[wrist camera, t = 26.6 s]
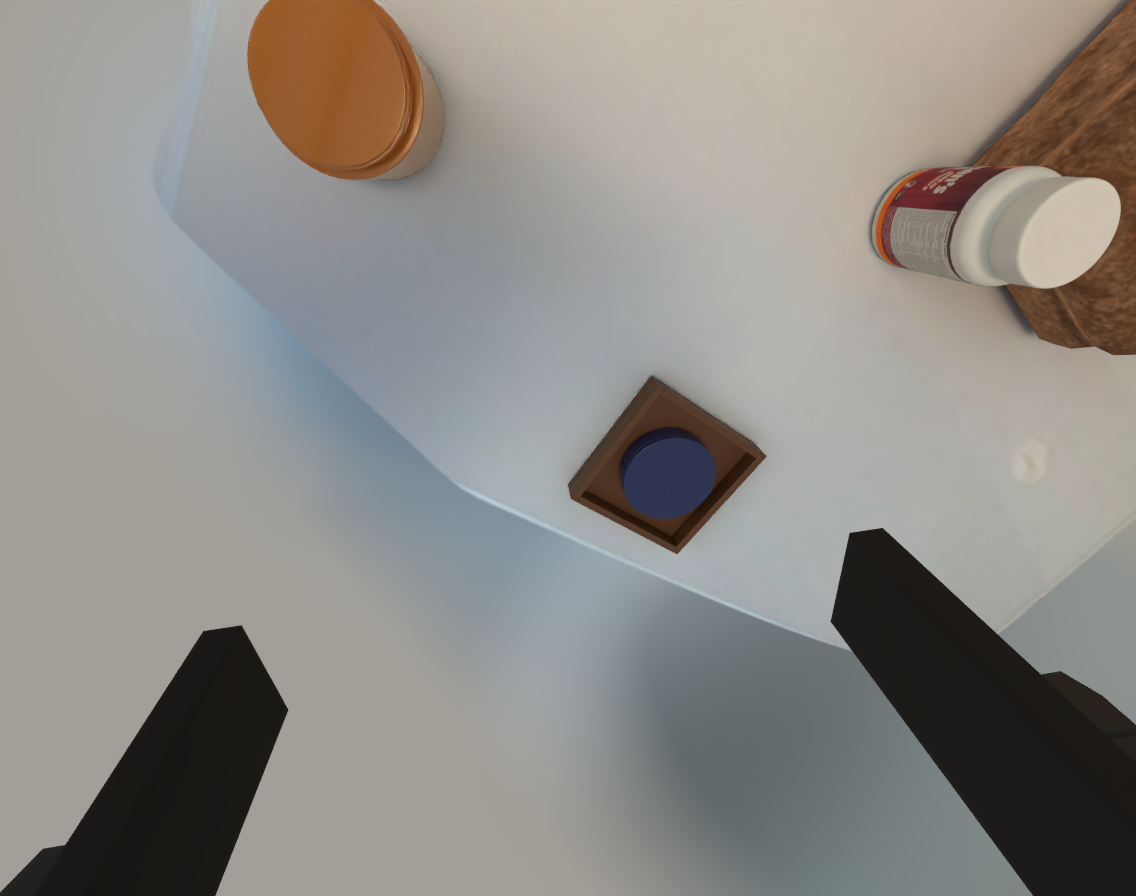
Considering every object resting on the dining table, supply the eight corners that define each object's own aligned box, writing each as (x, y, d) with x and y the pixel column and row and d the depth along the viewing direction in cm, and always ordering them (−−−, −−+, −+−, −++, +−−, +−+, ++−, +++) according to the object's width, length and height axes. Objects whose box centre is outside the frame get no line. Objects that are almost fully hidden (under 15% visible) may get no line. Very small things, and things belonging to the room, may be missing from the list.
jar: (338, 185, 31) (271, 188, 22) (298, 39, 28) (201, -25, 19) (455, 172, 31) (435, 170, 22) (429, 27, 28) (393, -42, 19)
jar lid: (606, 497, 43) (610, 511, 41) (634, 418, 40) (640, 429, 38) (688, 512, 44) (695, 525, 43) (722, 437, 41) (731, 448, 39)
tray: (567, 484, 42) (570, 499, 41) (651, 375, 39) (658, 385, 37) (670, 539, 46) (677, 554, 44) (755, 444, 43) (767, 456, 41)
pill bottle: (957, 154, 34) (1146, 142, 24) (953, 248, 37) (1122, 274, 27) (865, 187, 34) (1014, 191, 24) (869, 278, 37) (1004, 315, 27)
